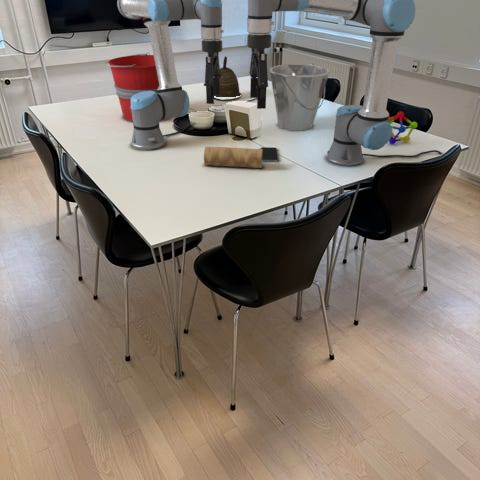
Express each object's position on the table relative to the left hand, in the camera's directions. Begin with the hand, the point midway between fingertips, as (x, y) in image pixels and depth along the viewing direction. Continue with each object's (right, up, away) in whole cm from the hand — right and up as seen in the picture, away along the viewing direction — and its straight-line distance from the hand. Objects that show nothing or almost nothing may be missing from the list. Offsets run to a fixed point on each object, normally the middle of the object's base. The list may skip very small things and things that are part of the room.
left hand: (213, 99), depth 172 cm
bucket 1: (-42, +14, +74) cm, 87 cm away
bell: (+2, +36, +109) cm, 115 cm away
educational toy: (+85, -9, +38) cm, 93 cm away
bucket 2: (+40, +6, +61) cm, 73 cm away
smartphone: (+23, -17, +24) cm, 38 cm away
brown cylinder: (+8, -24, +14) cm, 29 cm away
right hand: (+16, -9, -24) cm, 30 cm away
